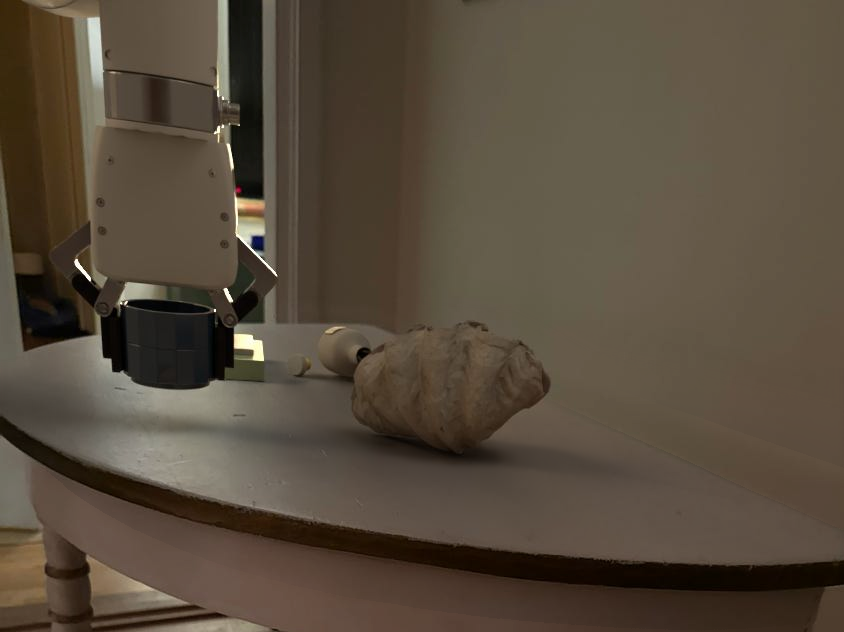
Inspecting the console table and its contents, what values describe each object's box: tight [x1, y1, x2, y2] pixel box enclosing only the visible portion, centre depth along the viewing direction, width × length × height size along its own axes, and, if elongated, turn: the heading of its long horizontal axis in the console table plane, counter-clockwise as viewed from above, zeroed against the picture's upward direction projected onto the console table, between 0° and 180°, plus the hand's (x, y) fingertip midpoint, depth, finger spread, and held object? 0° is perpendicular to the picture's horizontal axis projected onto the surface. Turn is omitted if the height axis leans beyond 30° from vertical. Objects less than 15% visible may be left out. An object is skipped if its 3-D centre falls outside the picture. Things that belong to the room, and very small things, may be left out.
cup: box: [119, 298, 217, 391], centre depth 70 cm, size 7×7×6 cm
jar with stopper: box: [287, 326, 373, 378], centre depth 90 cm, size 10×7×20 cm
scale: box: [216, 333, 265, 382], centre depth 94 cm, size 12×12×3 cm
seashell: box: [350, 319, 552, 454], centre depth 73 cm, size 10×15×10 cm
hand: (170, 371), depth 71 cm, fingers closed on cup, 6 cm apart
